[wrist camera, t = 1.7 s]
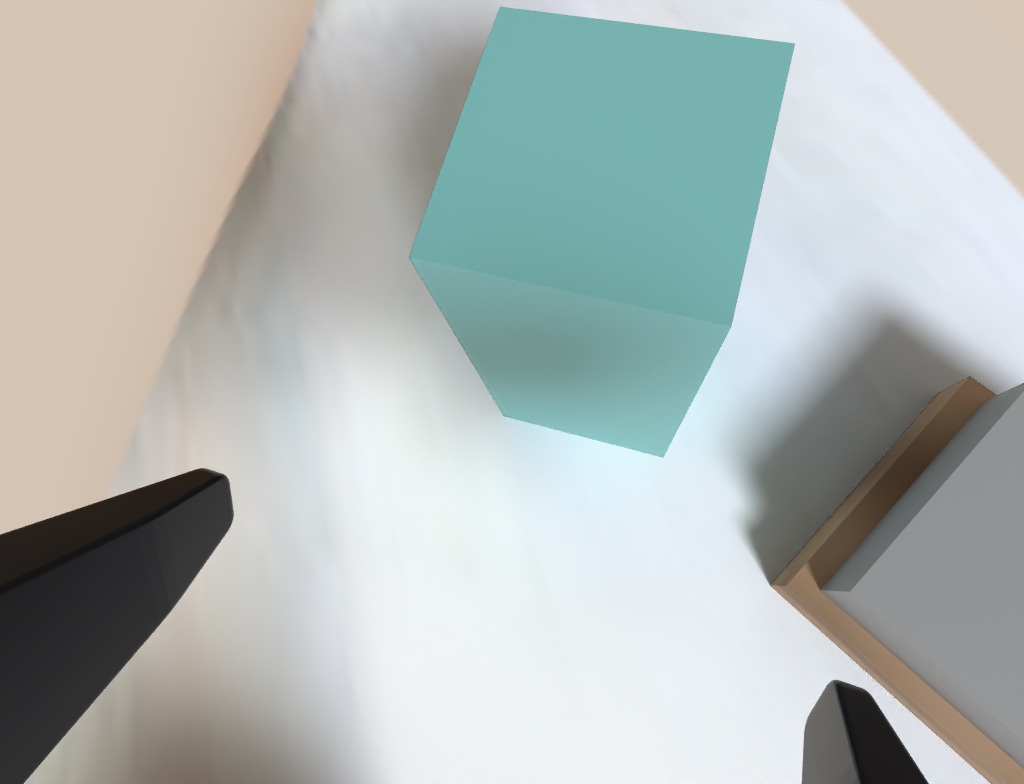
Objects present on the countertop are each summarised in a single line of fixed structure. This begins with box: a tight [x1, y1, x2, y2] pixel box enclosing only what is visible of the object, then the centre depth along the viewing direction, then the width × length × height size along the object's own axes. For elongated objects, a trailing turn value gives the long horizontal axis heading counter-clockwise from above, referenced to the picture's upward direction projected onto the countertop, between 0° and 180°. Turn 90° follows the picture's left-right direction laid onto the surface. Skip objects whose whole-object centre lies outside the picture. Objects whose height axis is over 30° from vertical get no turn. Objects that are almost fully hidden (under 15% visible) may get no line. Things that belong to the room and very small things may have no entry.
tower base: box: [770, 376, 1024, 784], centre depth 20 cm, size 9×9×2 cm
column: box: [409, 7, 795, 457], centre depth 18 cm, size 6×6×12 cm
